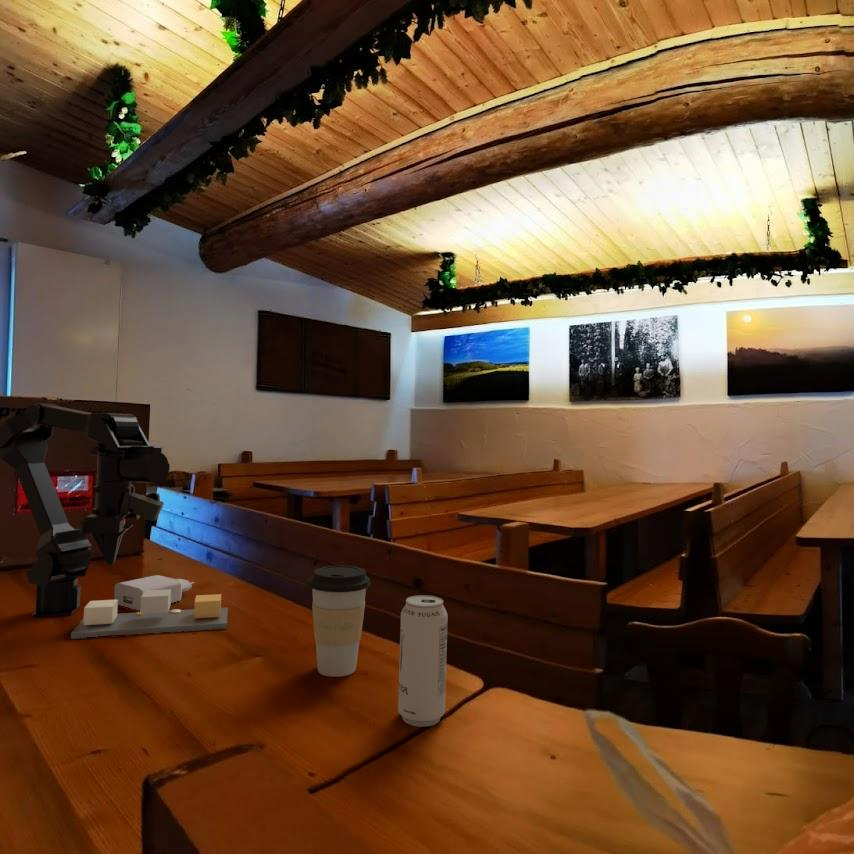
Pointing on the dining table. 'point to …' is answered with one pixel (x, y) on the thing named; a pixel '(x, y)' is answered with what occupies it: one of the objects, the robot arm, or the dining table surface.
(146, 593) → the key grey
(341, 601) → the coffee cup
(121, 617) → the keypad base
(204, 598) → the key amber
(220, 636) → the dining table surface
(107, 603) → the key cream
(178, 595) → the charger
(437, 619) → the energy drink can
